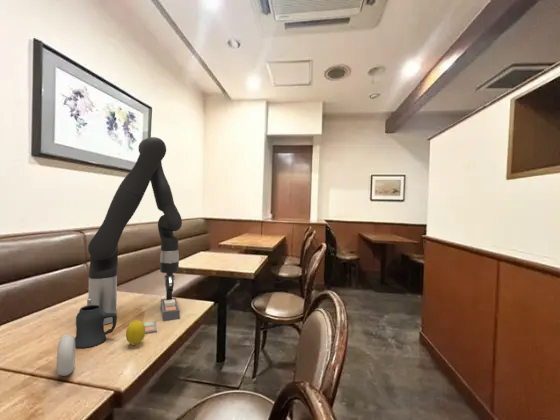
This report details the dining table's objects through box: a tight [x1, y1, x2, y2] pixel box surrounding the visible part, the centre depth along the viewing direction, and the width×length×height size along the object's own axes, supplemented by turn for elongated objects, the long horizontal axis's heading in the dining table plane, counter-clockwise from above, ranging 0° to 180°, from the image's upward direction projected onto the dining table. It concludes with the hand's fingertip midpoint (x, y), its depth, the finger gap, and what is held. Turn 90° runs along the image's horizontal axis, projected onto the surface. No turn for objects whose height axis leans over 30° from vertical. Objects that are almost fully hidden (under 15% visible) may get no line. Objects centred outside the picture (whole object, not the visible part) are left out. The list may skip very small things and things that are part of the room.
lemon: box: [125, 319, 146, 346], centre depth 91 cm, size 6×6×8 cm
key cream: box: [164, 299, 175, 307], centre depth 119 cm, size 4×4×2 cm
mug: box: [74, 305, 118, 350], centre depth 93 cm, size 12×9×11 cm
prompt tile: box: [142, 320, 158, 335], centre depth 103 cm, size 5×9×1 cm, turn 25°
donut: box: [56, 333, 76, 377], centre depth 75 cm, size 10×3×10 cm, turn 32°
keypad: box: [160, 297, 181, 322], centre depth 119 cm, size 6×17×4 cm, turn 25°
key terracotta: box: [165, 306, 177, 311], centre depth 114 cm, size 4×4×2 cm
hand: (169, 300), depth 124 cm, fingers closed
